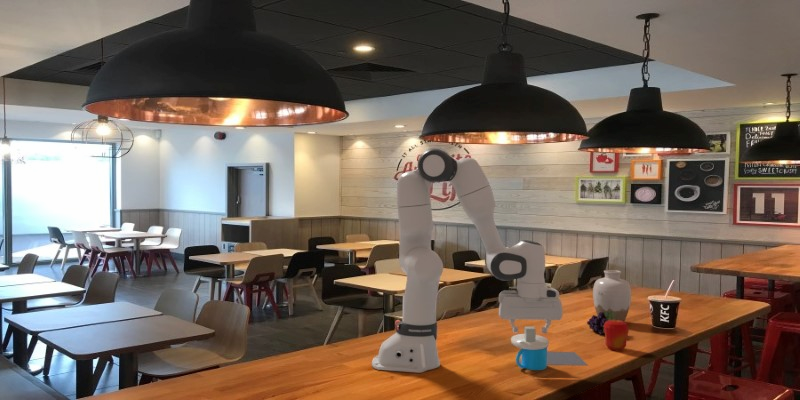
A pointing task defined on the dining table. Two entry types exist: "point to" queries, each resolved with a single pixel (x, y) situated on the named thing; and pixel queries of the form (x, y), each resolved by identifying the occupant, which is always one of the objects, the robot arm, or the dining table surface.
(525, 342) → the lid
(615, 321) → the apple
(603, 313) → the fruit
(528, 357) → the mug
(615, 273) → the vase
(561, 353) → the mat
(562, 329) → the dining table surface
